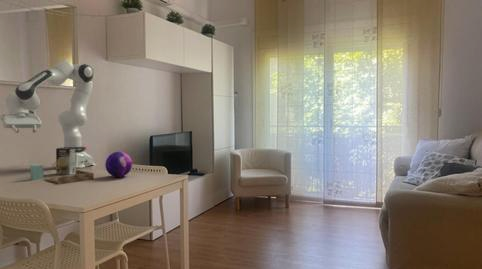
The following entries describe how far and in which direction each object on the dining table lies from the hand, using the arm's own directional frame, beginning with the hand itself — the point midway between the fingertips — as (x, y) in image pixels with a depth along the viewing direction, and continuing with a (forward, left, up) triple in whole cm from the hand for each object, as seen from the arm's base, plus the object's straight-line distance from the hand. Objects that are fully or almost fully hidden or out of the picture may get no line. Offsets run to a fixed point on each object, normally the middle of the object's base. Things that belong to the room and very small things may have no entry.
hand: (26, 132), depth 213 cm
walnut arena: (-11, +28, -26) cm, 40 cm away
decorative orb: (-34, +41, -27) cm, 60 cm away
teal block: (0, +12, -26) cm, 29 cm away
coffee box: (-19, +7, -27) cm, 34 cm away
